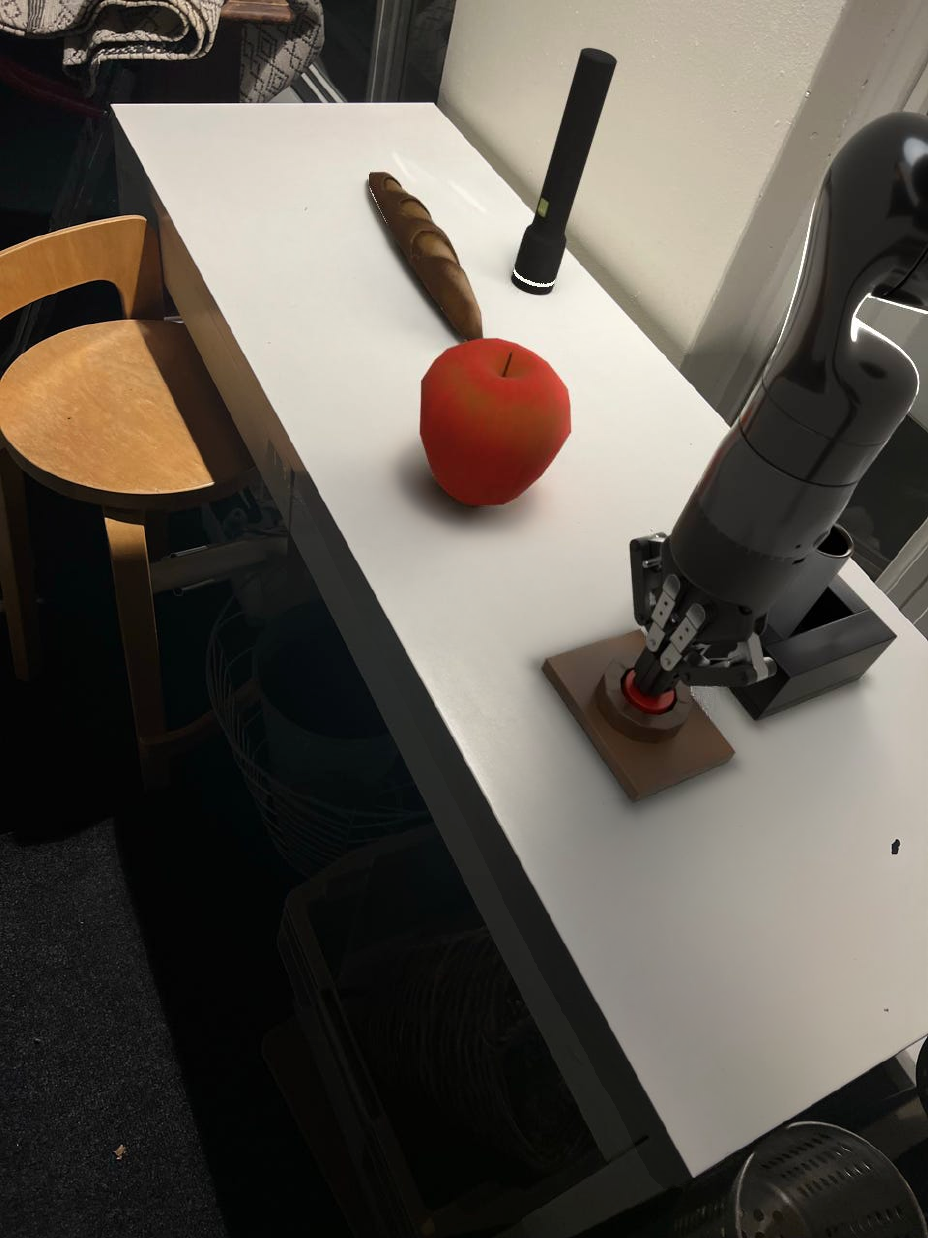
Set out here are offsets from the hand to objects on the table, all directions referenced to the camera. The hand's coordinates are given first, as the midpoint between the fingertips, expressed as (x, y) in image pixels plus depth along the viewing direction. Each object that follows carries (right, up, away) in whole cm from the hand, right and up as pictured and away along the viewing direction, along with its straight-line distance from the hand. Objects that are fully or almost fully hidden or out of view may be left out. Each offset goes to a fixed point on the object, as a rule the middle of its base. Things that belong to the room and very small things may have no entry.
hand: (648, 686), depth 63 cm
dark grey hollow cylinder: (+11, +4, +10) cm, 16 cm away
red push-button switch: (-1, -2, +2) cm, 3 cm away
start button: (0, -1, +1) cm, 2 cm away
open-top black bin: (+11, +4, +11) cm, 16 cm away
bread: (-18, +45, +39) cm, 62 cm away
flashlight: (-5, +44, +41) cm, 60 cm away
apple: (-12, +16, +15) cm, 25 cm away
